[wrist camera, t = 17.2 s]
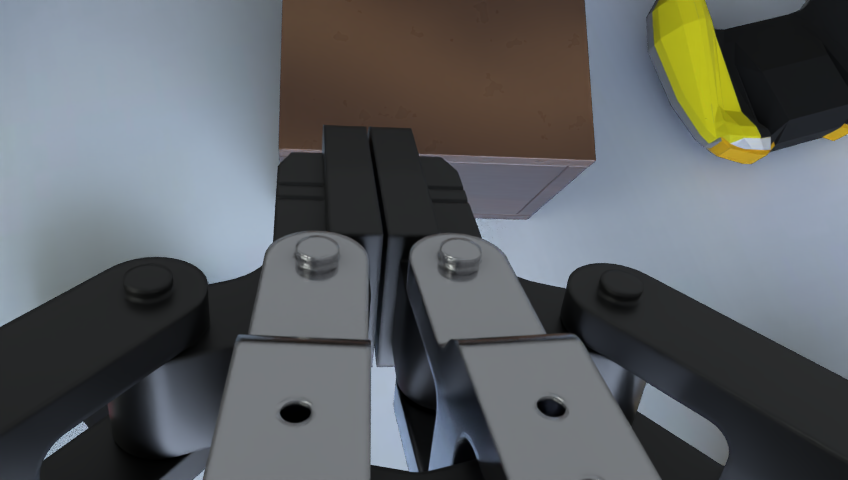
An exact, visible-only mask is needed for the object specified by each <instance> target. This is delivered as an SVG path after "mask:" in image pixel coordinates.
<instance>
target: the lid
mask: <svg viewBox="0 0 848 480" xmlns="http://www.w3.org/2000/svg"><path fill="white" fill-rule="evenodd" d="M323 125H340V126H366V129H367V133H368V128H369V127H395V128H411V129H412V132H413V135H414V139H415V142H416V146H417V150H418V153H419V156H432V157H442V158H443V159H444V160H445V161H446V162H472V163H500V164H528V165H556V166H585V167H589V166H590V165H591V164H593V163H594V162H595V161H596V155H595V141H594V127H593V113H592V99H591V85H590V71H589V57H588V43H587V29H586V15H585V1H584V0H282V35H281V74H280V112H279V155H280V156H288V155H289V154H290V153H291V152H307V153H322V135H323Z"/></svg>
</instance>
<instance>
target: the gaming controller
mask: <svg viewBox="0 0 848 480" xmlns="http://www.w3.org/2000/svg"><path fill="white" fill-rule="evenodd" d="M646 18H647V42H648V53H649V55H650V58H651V60H652V62H653V65H654V67H655V69H656V72H657V74H658V76H659V79H660V81H661V83H662V85H663V88H664V90H665V92H666V95H667V97H668V99H669V102H670V104H671V106H672V107H673V109H674V110H675V112H676V113H677V115H678V116H679V117H680V119H681V120H682V122H683V123H684V124H685V126H686V127H687V129H688V130H689V132H690V133H691V134H692V136H693V137H694V139H695V140H696V141H697V142H698V143H699V144H700V145H702V146H703V147H704V148H706V149H707V150H708V151H709V152H711V153H713V154H715V155H716V156H718V157H721V158H725V159H728V160H732V161H735V162H739V163H742V164H752V163H754V162H756V161H757V160H759V159H761V158H763V157H764V156H766V155H767V154H768V153H769V152H771V151H775V150H778V149H782V148H786V147H789V146H793V145H797V144H800V143H804V142H807V141H811V140H815V139H818V138H822V137H823V138H826V139H829V140H832V141H835V140H837V139H839V138H841V137H843V136H845V135H846V134H848V0H807V1H806V2H805V3H804V5H803V6H802V8H801V9H800V10H799V11H797V12H794V13H791V14H789V15H784V16H780V17H776V18H772V19H767V20H763V21H759V22H755V23H750V24H746V25H742V26H737V27H733V28H729V29H721V30H716V29H714V27H713V23H712V19H711V16H710V13H709V10H708V8H707V5H706V2H705V0H656V1H655V3H654V5H653V7H652V8H651V10H650V12H649V14H648V16H647V17H646Z"/></svg>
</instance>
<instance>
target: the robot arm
mask: <svg viewBox="0 0 848 480" xmlns="http://www.w3.org/2000/svg"><path fill="white" fill-rule="evenodd" d="M374 348H375V356H376V365H377V367H395V372H396V384H395V394H394V403H393V405H394V411H395V416H396V420H397V424H398V428H399V432H400V437H401V441H402V445H403V449H404V453H405V457H406V462H407V466H408V470H409V471H403V470H398V469H392V468H386V467H380V466H374V465H370V445H371V367H372V364H373V352H374ZM646 382H647V383H649V384H650V385H652V386H654V387H655V388H657V389H658V390H660V391H662V392H663V393H665V394H667V395H668V396H670V397H672V398H673V399H675V400H676V401H678V402H680V403H681V404H683V405H685V406H686V407H688V408H689V409H691V410H693V411H694V412H696V413H698V414H699V415H701V416H703V417H704V418H706V419H707V420H709V421H710V422H712V423H713V424H714V425H716V426H717V427H718V428H719V430H720V431H721V432H722V433H723V435H724V436H725V438H726V440H727V443H728V446H729V457H728V460H727V462H726V465H725V466H723V465H721V464H719V463H717V462H716V461H714V460H713V459H711V458H710V457H708V456H707V455H705V454H703V453H702V452H700V451H699V450H697V449H696V448H694V447H693V446H691V445H689V444H688V443H686V442H685V441H683V440H682V439H680V438H678V437H677V436H675V435H674V434H672V433H671V432H669V431H668V430H666V429H664V428H663V427H661V426H660V425H658V424H657V423H655V422H653V421H652V420H650V419H649V418H647V417H646V416H644V415H643V414H641V413H639V412H638V411H637V409H638V406H639V403H640V400H641V397H642V394H643V391H644V388H645V385H646ZM107 404H108V410H109V414H108V415H106V416H105V417H104V418H102V419H101V420H99V421H98V422H97V423H95V424H94V425H92V426H91V427H90V428H88V429H87V430H85V431H84V432H83V433H81V434H80V435H78V436H77V437H76V438H74V439H73V440H71V441H70V442H69V443H67V444H66V445H64V446H63V447H62V448H60V449H59V450H57V451H56V452H55V453H53V454H52V455H50V456H49V457H48V458H46V459H45V460H44V458H45V456H46V454H47V452H48V451H49V449H50V448H51V447H52V446H53V444H54V443H55V442H56V441H57V440H58V439H59V438H60V437H61V436H63V435H64V434H65V433H67V432H68V431H70V430H71V429H72V428H74V427H75V426H77V425H78V424H80V423H81V422H82V421H84V420H85V419H87V418H88V417H90V416H91V415H92V414H94V413H95V412H97V411H98V410H100V409H101V408H102V407H104V406H105V405H107ZM204 469H205V472H204V476H203V480H848V380H847V379H845V378H843V377H841V376H840V375H838V374H836V373H834V372H832V371H830V370H828V369H826V368H824V367H822V366H820V365H819V364H817V363H815V362H813V361H811V360H809V359H807V358H805V357H803V356H801V355H799V354H797V353H796V352H794V351H792V350H790V349H788V348H786V347H784V346H782V345H780V344H778V343H776V342H775V341H773V340H771V339H769V338H767V337H765V336H763V335H761V334H759V333H757V332H755V331H753V330H752V329H750V328H748V327H746V326H744V325H742V324H740V323H738V322H736V321H734V320H732V319H731V318H729V317H727V316H725V315H723V314H721V313H719V312H717V311H715V310H713V309H711V308H710V307H708V306H706V305H704V304H702V303H700V302H698V301H696V300H694V299H692V298H690V297H688V296H687V295H685V294H683V293H681V292H679V291H677V290H675V289H673V288H671V287H669V286H667V285H666V284H664V283H662V282H660V281H658V280H656V279H654V278H652V277H650V276H648V275H646V274H644V273H642V272H640V271H638V270H635V269H632V268H629V267H626V266H622V265H616V264H608V263H595V264H588V265H585V266H582V267H580V268H577V269H576V270H575V271H573V272H572V273H571V275H570V276H569V279H568V282H567V287H566V289H565V288H560V287H555V286H551V285H546V284H541V283H536V282H532V281H528V280H525V279H523V278H520V277H517V276H516V274H515V272H514V270H513V268H512V267H511V265H510V263H509V261H508V259H507V257H506V256H505V254H504V253H503V252H502V251H501V250H500V249H499V248H498V247H496V246H495V245H494V244H492V243H490V242H488V241H486V240H484V239H482V237H481V235H480V232H479V229H478V226H477V224H476V221H475V218H474V215H473V212H472V210H471V207H470V204H469V203H468V198H467V196H466V193H465V190H463V185H462V182H461V179H460V176H459V173H458V171H457V170H456V169H455V168H453V167H452V166H451V165H450V164H449V163H448V162H446V161H445V160H444V159H443V158H442V157H432V156H419V153H418V150H417V146H416V142H415V139H414V135H413V132H412V129H411V128H395V127H369V128H368V133H367V129H366V126H340V125H323V135H322V153H307V152H291V153H290V154H289V155H288V156H287V157H286V158H285V159H284V160H283V161H282V162H281V163H280V164H279V165H278V172H277V188H276V204H275V220H274V236H273V243H272V244H271V245H270V246H269V247H268V249H267V250H266V253H265V256H264V261H263V265H262V266H261V267H260V268H258V269H256V270H255V271H253V272H251V273H249V274H247V275H245V276H242V277H239V278H236V279H232V280H228V281H224V282H218V283H213V284H208V282H207V279H206V276H205V275H204V274H203V272H202V271H201V270H200V269H198V268H197V267H196V266H194V265H192V264H190V263H188V262H185V261H182V260H178V259H174V258H166V257H147V258H139V259H134V260H130V261H126V262H123V263H120V264H117V265H115V266H113V267H111V268H109V269H107V270H105V271H103V272H101V273H100V274H98V275H96V276H94V277H92V278H90V279H88V280H87V281H85V282H83V283H81V284H79V285H77V286H75V287H74V288H72V289H70V290H68V291H66V292H64V293H62V294H61V295H59V296H57V297H55V298H53V299H51V300H49V301H48V302H46V303H44V304H42V305H40V306H38V307H36V308H35V309H33V310H31V311H29V312H27V313H25V314H24V315H22V316H20V317H18V318H16V319H14V320H12V321H11V322H9V323H7V324H5V325H3V326H1V327H0V480H193V479H194V478H195V477H196V476H198V475H199V474H200V473H201V472H202V471H203V470H204Z"/></svg>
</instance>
